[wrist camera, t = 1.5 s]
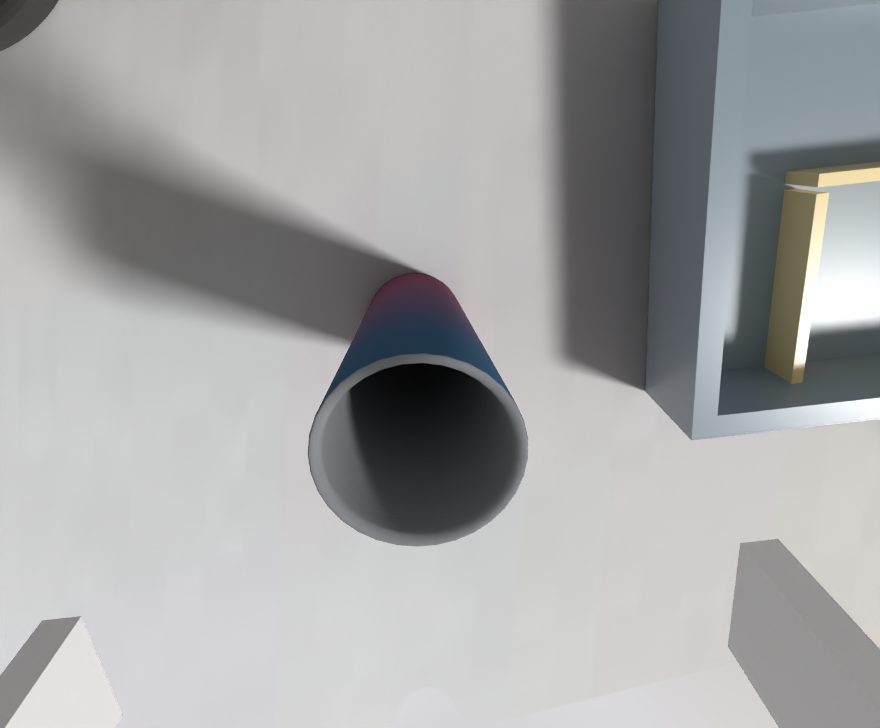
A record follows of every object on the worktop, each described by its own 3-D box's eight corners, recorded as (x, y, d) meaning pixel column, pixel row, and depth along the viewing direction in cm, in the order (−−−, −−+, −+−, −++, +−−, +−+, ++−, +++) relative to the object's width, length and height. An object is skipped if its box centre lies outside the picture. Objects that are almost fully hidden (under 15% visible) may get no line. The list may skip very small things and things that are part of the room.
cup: (341, 267, 31) (282, 373, 17) (467, 246, 30) (517, 336, 17) (366, 383, 33) (334, 561, 19) (483, 365, 33) (537, 529, 19)
